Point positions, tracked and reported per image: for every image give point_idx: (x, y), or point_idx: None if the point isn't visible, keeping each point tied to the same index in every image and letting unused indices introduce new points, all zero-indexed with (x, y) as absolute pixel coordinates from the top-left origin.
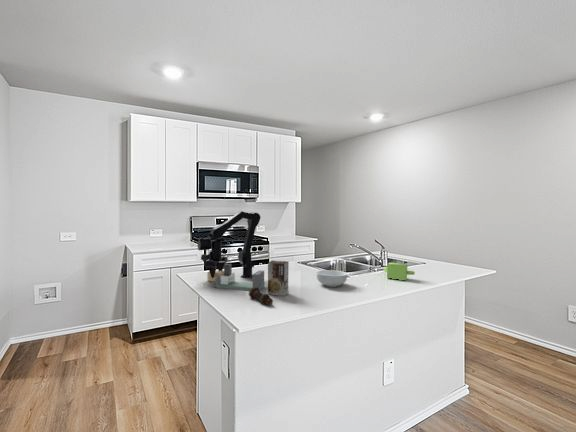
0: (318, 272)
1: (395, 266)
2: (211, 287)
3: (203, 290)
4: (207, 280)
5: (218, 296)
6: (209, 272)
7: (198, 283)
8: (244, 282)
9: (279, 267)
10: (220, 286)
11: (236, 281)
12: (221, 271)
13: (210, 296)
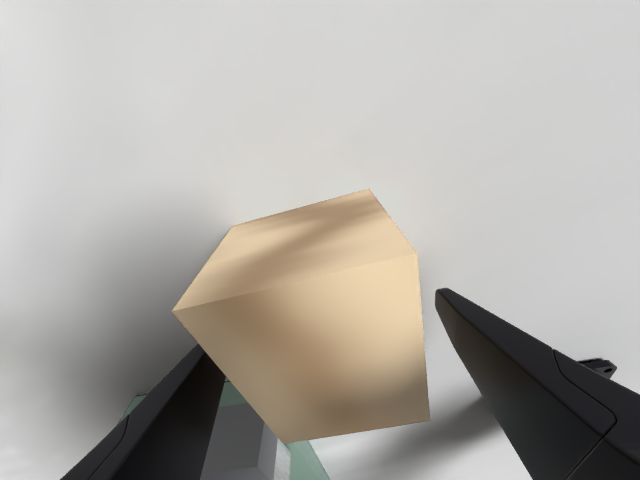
0: None
1: None
2: (110, 381)
3: (11, 386)
4: (231, 228)
5: (54, 466)
6: (203, 338)
7: (59, 222)
8: (303, 476)
9: None
10: None
11: (296, 453)
12: (388, 409)
13: (10, 452)
